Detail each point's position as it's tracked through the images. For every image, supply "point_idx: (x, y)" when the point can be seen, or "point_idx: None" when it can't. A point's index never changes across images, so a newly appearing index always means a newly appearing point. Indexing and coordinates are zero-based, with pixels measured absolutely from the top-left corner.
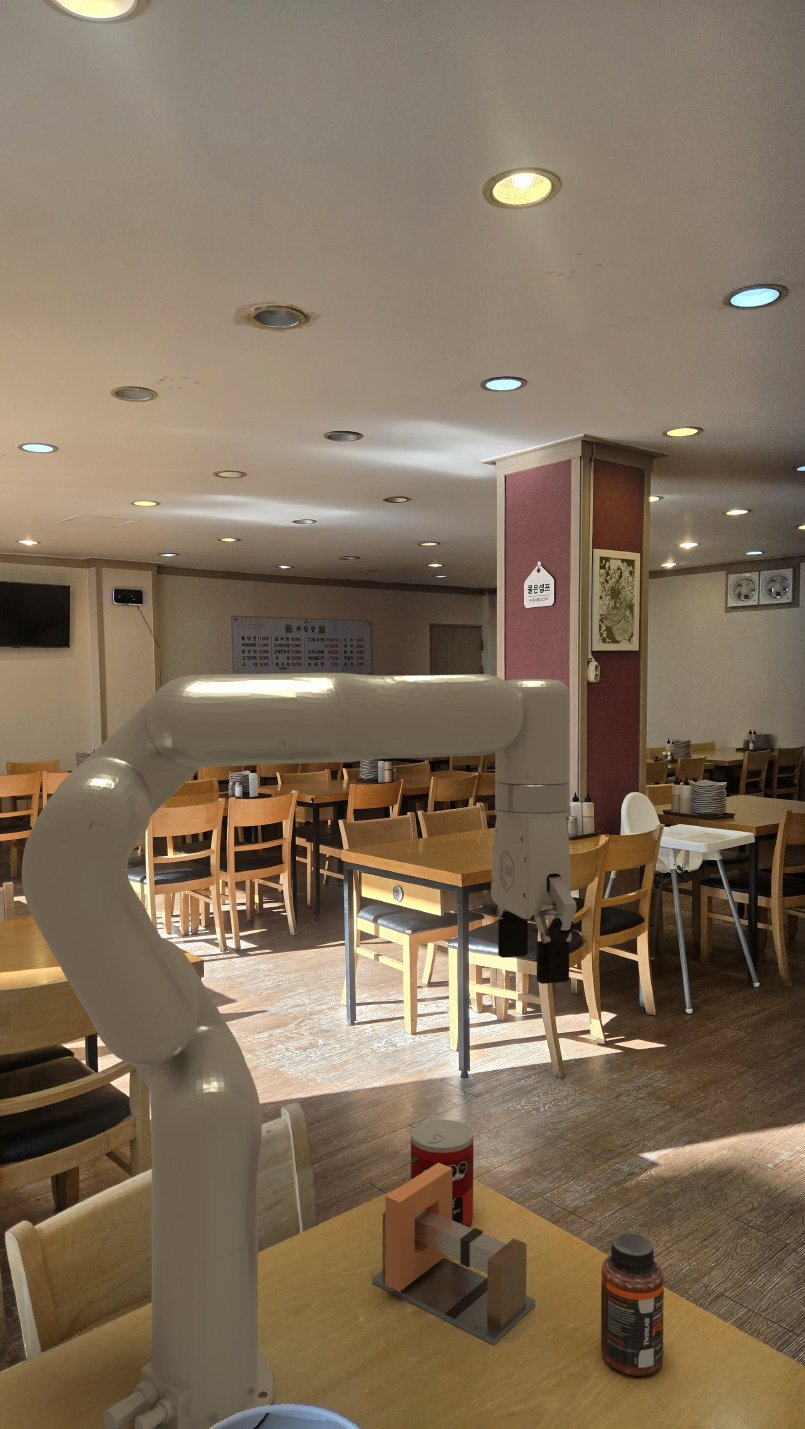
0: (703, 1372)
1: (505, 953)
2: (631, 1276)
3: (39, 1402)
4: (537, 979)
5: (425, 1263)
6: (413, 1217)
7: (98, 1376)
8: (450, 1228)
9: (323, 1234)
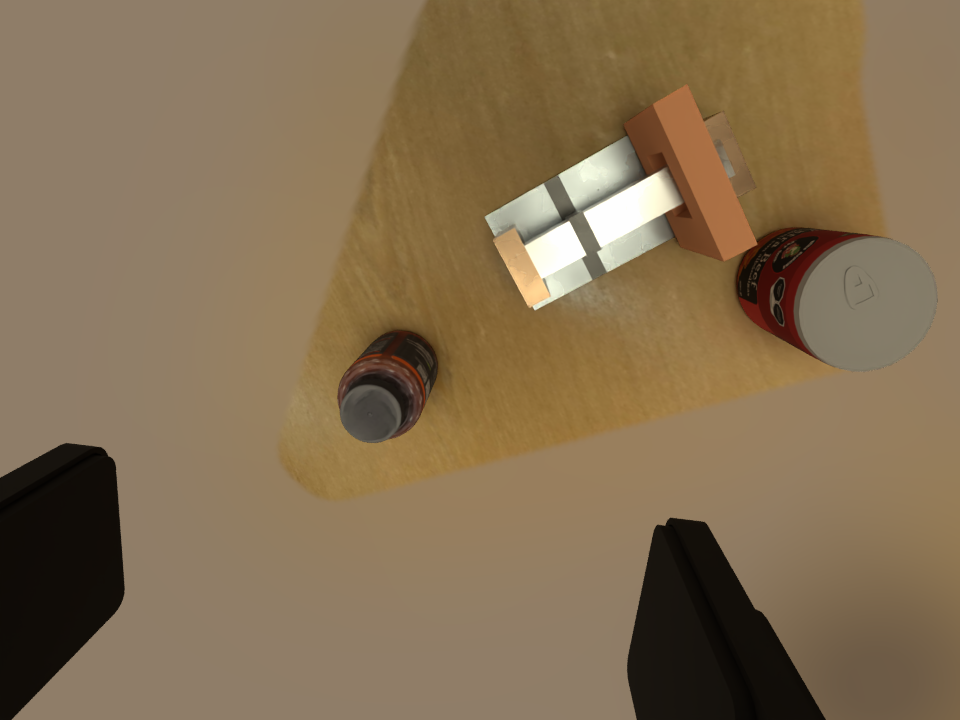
0: None
1: (654, 553)
2: (350, 383)
3: None
4: (82, 447)
5: None
6: (660, 148)
7: None
8: (621, 210)
9: (854, 67)
